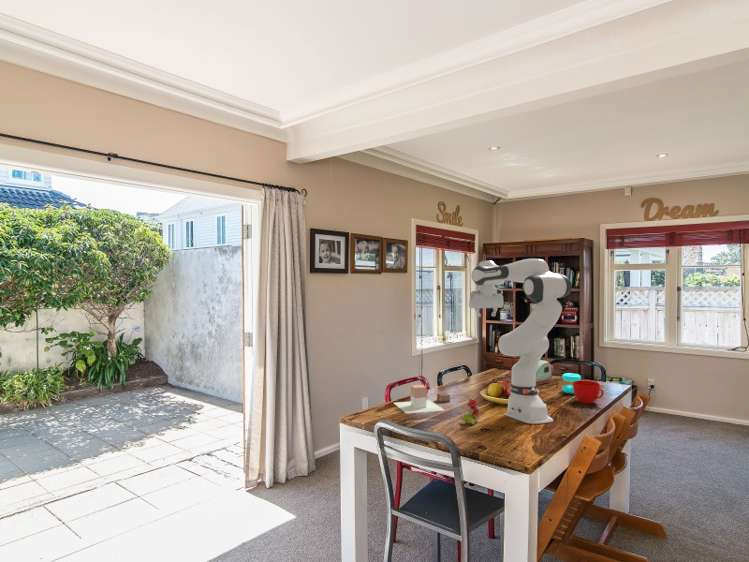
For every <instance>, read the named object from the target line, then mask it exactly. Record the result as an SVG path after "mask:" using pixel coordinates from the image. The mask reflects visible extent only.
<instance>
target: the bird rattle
mask: <svg viewBox="0 0 749 562" xmlns="http://www.w3.org/2000/svg"><path fill="white" fill-rule="evenodd" d="M466 405H467V407H469V410H468V412H467V413H464V414H463V415H464V416H462V417H461V421H463V422H464V423H465V424H469V423H471V424H470V425H474V426H475V425H476V423H477V422H478V419H480V416H481V414H482V413H481V408H480V407H479V406H478V405H479V403H478V401H477V399H472V398H469V400H468V402H467V403H466Z"/></svg>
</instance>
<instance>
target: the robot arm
mask: <svg viewBox="0 0 749 562" xmlns="http://www.w3.org/2000/svg"><path fill="white" fill-rule="evenodd" d="M471 279H472V281H473V282H474V284H475V285H477V290H472V291H471V292H470V293H469V300H468V301H469V302H468V307H469V309H474V311H475V313H476V317H477V318H481V317H482V313H480V309H492V310H493V311H492V312H491V317H496V315H497V314H496V313H497V311H498V308H500V309H501V308H504V295H503V294H504V292H503V291H504V290H502V289H501V288H498V287H496V286H497V285H498V286H499V285H504V284H505V283H506V281H507V282H508V281H509V282H515V283H522V289H523V292H524V294H525V296H526V297H527V298H528V299H529V301H530V302H532V303H533V304H536V306H535V307H534V309H533V310H532V311H531V313H530V314H529V315H528V316H527V318H526V319H525V321H523V322H522V323H521V324H519V326H518V327H516V328H514V329H513V330H511V331H510V332H508V333H505V334H503V335H501V336H500V337H499V339H498V343H497V344H498V345H497V346H498V350H499V352H500V353H501V354H502V355H504V356H507V357H520V358H519V359H518V361H517V362H516V363H515V364H514V365H513V366H512V367H511V383H510V386H509V388H510V389H509V390H510V395H509V397H508V400H507V402H508V403H507V411H506V412H505V416H506V417H509V418H511V419H514V420H517V421H519V422H522V423H525V424H529V425H530V424H533V425H535V424H536V425H537V424H538V425H540V424H548V423H552V422H554V419H553V418H552V417H551V416H549V415H548V408H547V407H548V406H547V404H546V403H544V401H543V400H542V399H541V397H540V396H539V392H540V391H539V390H540V389H539V388H538V387H537V386H538V385H536V369H537V365H538V362H539V360H541V359H542V357H543V355H544V354H545V353H546V352H548V349H549V348H550V342H549V339H548V337H547V336H548V333H549V332H550V331H551V330H552V329H553V327H554V326H555V325H556V324H557V322H558V320H559V318H560V316H561V314H562V312H563V306H562V303H561V302H560V301H559V300H557V299H562V298H565V297H568V295H570V294H571V291H572V281H571V280H570V278H569V277H568V276H566V275H564V274H561V273H560V272H558V271H553V272H552V271H550V268H549V265H548V263H547V262H546V261H545V260H544V259H541V258H524V259H521V260H517V261H515V262H511V263H507V264H504V265H503V264H502V265H497V264H496V263H495V262H494V261H493V260H490V259H487V260H481V261H480V262H479V264H478V265H477V266H475V268H474V269H473V270H472V271H471Z"/></svg>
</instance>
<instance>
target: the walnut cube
mask: <svg viewBox="0 0 749 562" xmlns="http://www.w3.org/2000/svg"><path fill="white" fill-rule="evenodd" d="M436 401H437V402H439V403H440V404H443V403H451V395H450V394H449V393H448V392H439V393H436Z"/></svg>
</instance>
